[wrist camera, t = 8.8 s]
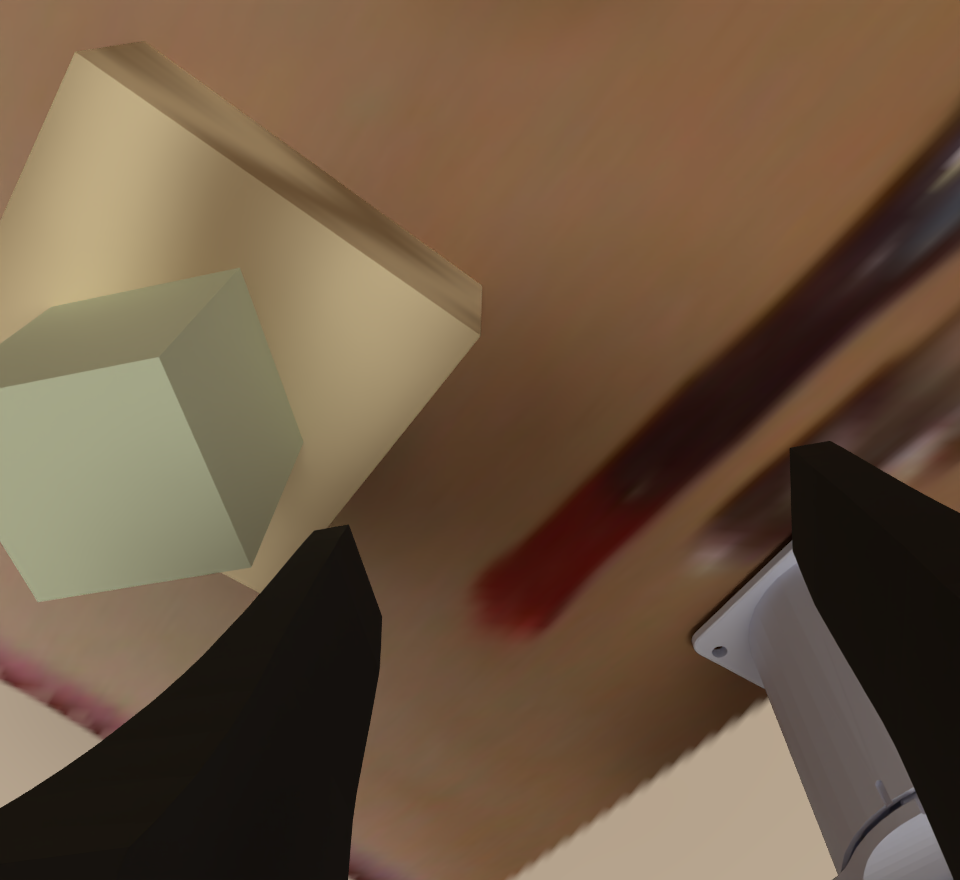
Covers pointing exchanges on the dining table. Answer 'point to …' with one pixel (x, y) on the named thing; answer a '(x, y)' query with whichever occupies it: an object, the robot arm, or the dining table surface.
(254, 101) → the dining table surface
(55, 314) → the sage block
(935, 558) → the robot arm
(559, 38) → the dining table surface
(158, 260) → the bamboo box
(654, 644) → the dining table surface
